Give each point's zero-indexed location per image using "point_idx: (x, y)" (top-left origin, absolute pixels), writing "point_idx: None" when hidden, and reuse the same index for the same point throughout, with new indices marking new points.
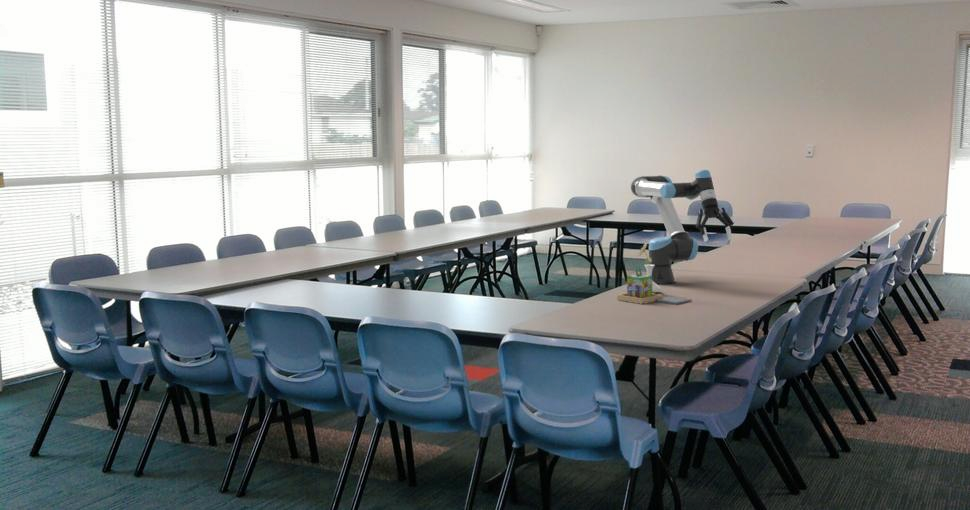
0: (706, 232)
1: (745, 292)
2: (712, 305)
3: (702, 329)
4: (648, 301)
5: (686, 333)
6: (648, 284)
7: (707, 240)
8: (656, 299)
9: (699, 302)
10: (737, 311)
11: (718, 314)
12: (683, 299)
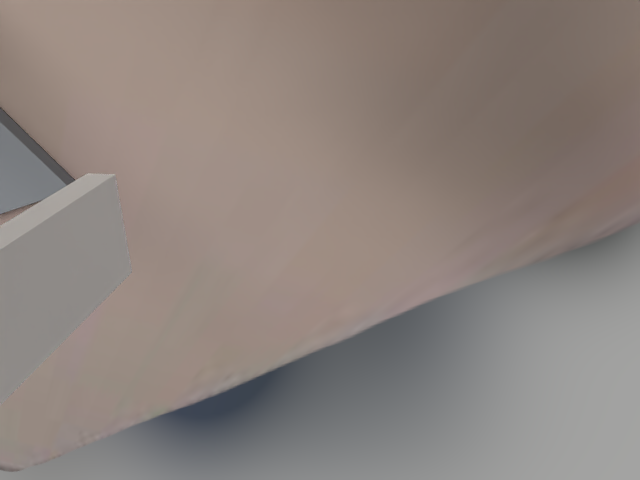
0: (46, 357)
1: (542, 65)
2: (158, 271)
3: (56, 427)
4: None
5: (14, 432)
6: None
7: (126, 245)
8: None
9: None
10: (217, 357)
11: (137, 362)
12: (28, 178)
